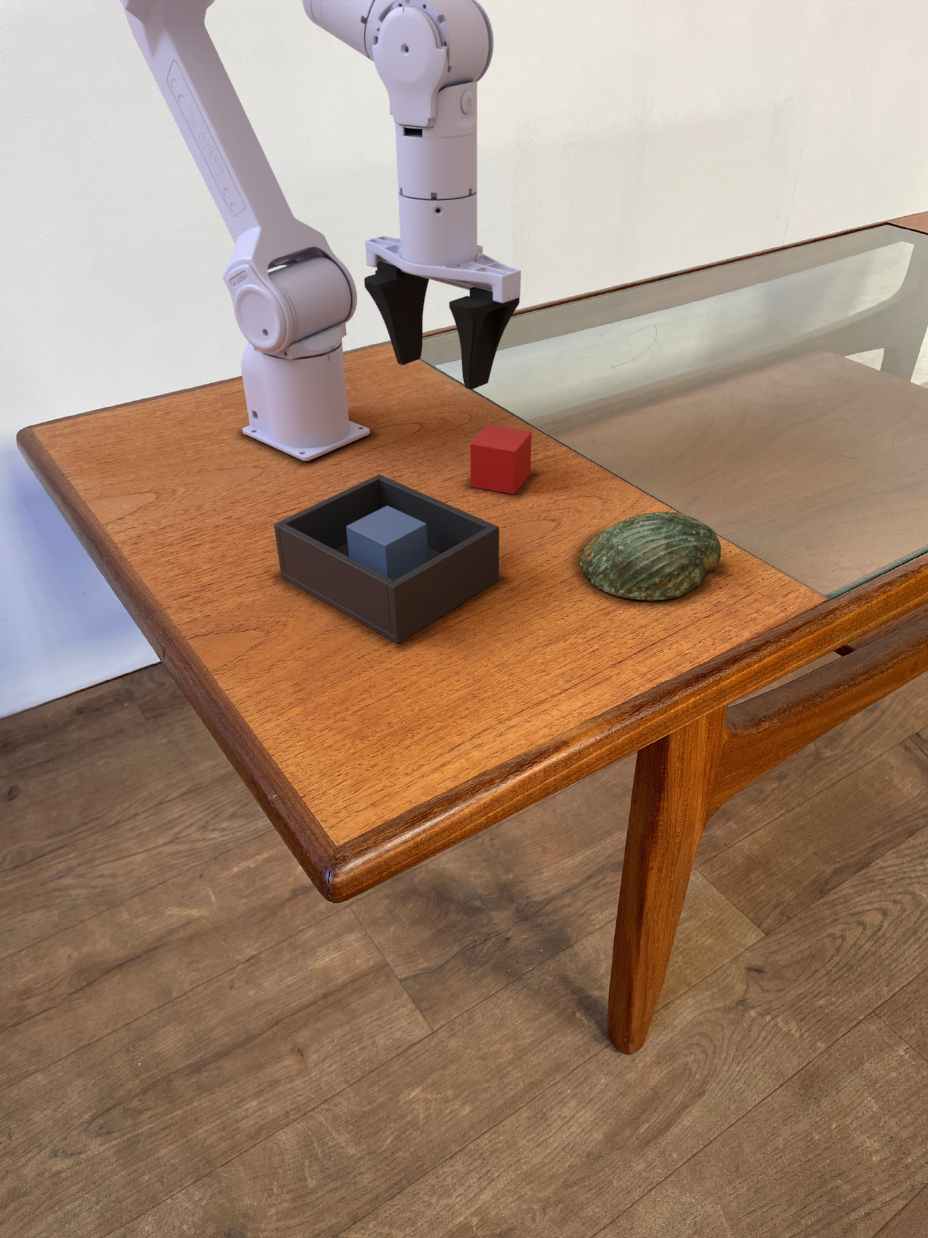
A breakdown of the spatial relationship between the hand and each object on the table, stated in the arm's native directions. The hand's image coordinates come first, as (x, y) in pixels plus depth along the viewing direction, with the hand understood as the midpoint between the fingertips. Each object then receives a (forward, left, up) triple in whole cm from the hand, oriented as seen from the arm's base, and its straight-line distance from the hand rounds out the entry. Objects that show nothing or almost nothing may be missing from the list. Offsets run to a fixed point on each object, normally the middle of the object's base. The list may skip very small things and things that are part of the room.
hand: (442, 372), depth 77 cm
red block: (+4, +3, -9) cm, 11 cm away
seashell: (+21, 0, -10) cm, 23 cm away
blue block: (+8, -14, -9) cm, 19 cm away
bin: (+8, -14, -9) cm, 19 cm away
